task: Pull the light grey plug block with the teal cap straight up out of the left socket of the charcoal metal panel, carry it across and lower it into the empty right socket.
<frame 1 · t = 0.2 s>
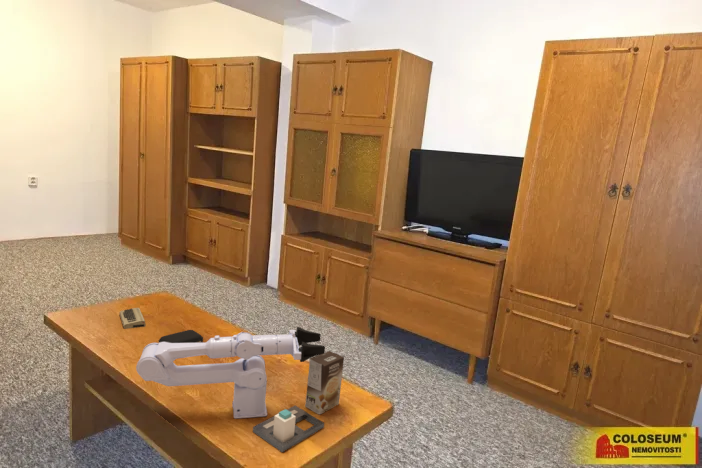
hand: (322, 343, 139), 21 cm above the table, tool horizontal, fingers open, 7 cm apart
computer: (132, 322, 192), on the table
carrying case or bag: (181, 344, 177), on the table
panel: (293, 432, 129), on the table
coffee box: (322, 406, 144), on the table
plug: (283, 439, 126), resting in panel
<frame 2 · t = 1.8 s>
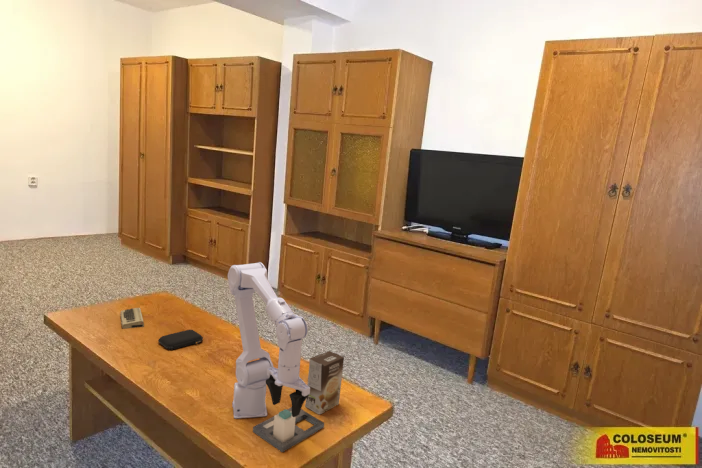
hand: (285, 409, 125), 9 cm above the table, tool pointing down, fingers open, 7 cm apart
nothing on the table moved.
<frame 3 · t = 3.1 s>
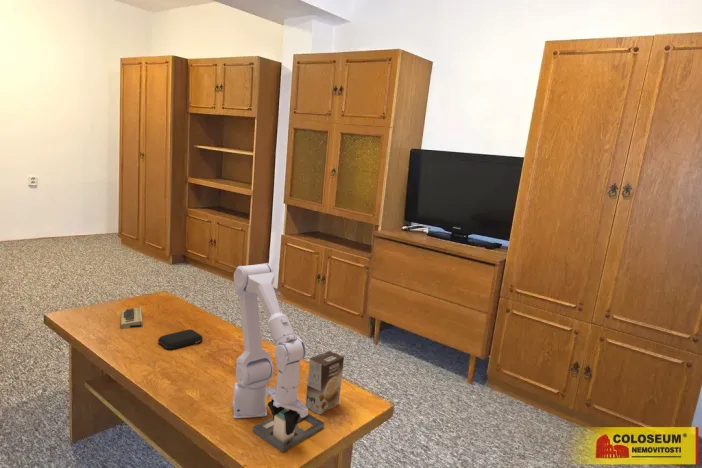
hand: (284, 429, 126), 3 cm above the table, tool pointing down, fingers closed on plug, 4 cm apart
plug: (283, 439, 126), resting in panel, touching gripper
everything else where it was.
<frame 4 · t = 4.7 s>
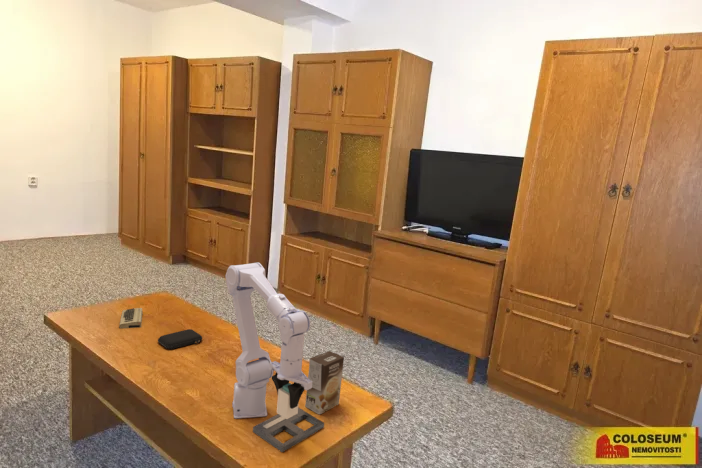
hand: (287, 403, 125), 10 cm above the table, tool pointing down, fingers closed on plug, 4 cm apart
plug: (287, 413, 125), point 7 cm above the table, touching gripper
everything else where it was.
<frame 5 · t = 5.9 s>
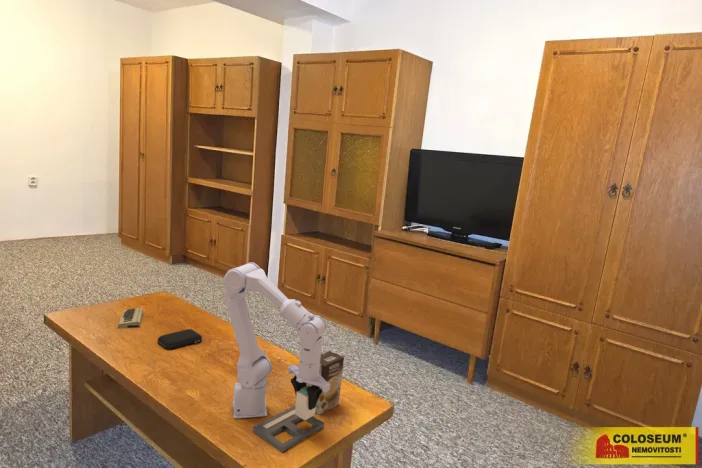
hand: (306, 404, 131), 7 cm above the table, tool pointing down, fingers closed on plug, 4 cm apart
plug: (304, 414, 131), point 4 cm above the table, touching gripper
everything else where it was.
when the fingers open (4 cm above the table, at t = 6.8 s): plug drops 1 cm, resting in panel.
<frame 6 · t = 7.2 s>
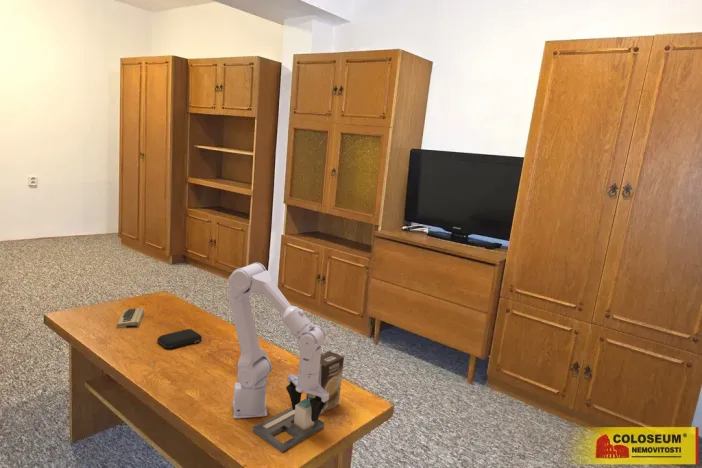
hand: (305, 414, 132), 4 cm above the table, tool pointing down, fingers open, 7 cm apart
plug: (303, 427, 132), resting in panel
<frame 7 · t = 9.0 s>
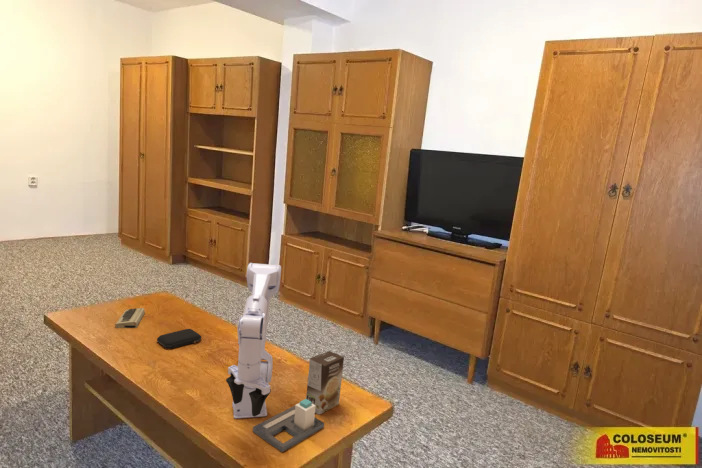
hand: (246, 408, 121), 10 cm above the table, tool pointing down, fingers open, 7 cm apart
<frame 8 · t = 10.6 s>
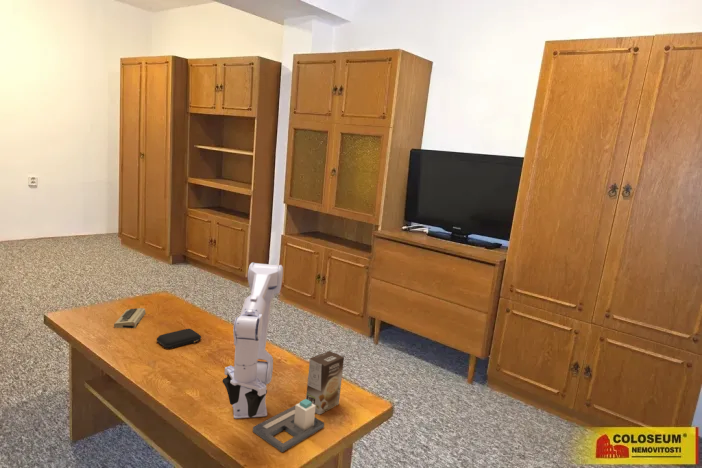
hand: (243, 409, 121), 10 cm above the table, tool pointing down, fingers open, 7 cm apart
at the end: plug 0.2 cm from the target spot on the panel, point 0.0 cm above the panel's base; plug tilted 0°; the gripper is holding nothing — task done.
